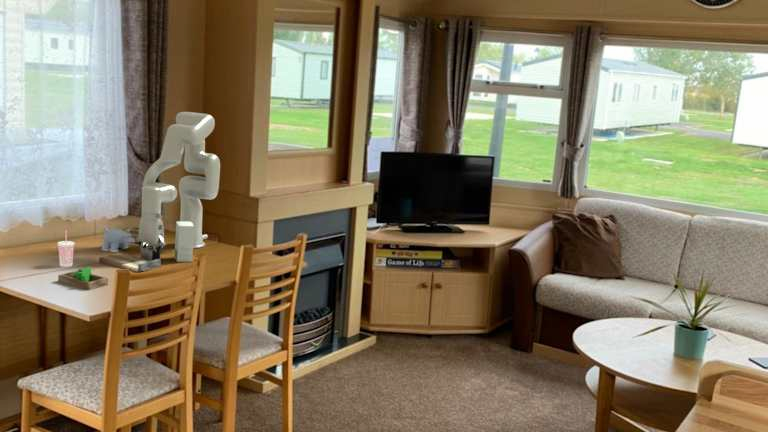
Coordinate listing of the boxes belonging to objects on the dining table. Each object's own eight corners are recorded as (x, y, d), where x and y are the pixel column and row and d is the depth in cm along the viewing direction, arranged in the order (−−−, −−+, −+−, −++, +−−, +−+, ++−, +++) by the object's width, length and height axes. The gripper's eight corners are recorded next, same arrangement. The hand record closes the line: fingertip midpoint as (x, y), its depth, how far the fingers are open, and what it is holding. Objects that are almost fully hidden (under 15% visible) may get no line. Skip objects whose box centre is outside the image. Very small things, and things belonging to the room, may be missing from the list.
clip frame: (130, 235, 353) (130, 228, 353) (157, 241, 347) (157, 234, 346) (116, 238, 346) (116, 231, 345) (144, 244, 339) (144, 237, 338)
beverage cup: (58, 267, 293) (58, 232, 290) (57, 263, 298) (56, 228, 296) (75, 266, 296) (75, 231, 293) (73, 262, 301) (73, 228, 299)
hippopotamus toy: (126, 254, 320) (126, 232, 318) (95, 249, 323) (95, 228, 322) (140, 249, 330) (141, 227, 329) (110, 244, 334) (110, 223, 332)
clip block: (150, 257, 317) (150, 243, 316) (160, 260, 315) (160, 245, 314) (140, 260, 312) (140, 246, 311) (150, 262, 310) (151, 248, 309)
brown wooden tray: (76, 276, 283) (76, 270, 283) (107, 284, 277) (108, 278, 276) (58, 281, 275) (58, 275, 275) (89, 289, 269) (89, 283, 269)
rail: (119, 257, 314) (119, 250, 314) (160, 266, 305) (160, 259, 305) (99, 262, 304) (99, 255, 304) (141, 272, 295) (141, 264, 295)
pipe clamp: (80, 278, 281) (80, 266, 280) (91, 278, 282) (91, 266, 281) (73, 287, 270) (73, 275, 269) (84, 287, 271) (84, 275, 270)
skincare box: (174, 257, 321) (175, 221, 318) (190, 256, 324) (191, 221, 321) (177, 262, 314) (178, 225, 311) (193, 261, 316) (194, 225, 314)
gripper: (174, 218, 310) (172, 261, 313) (141, 211, 317) (141, 254, 320) (161, 220, 303) (160, 264, 307) (128, 214, 310) (127, 257, 314)
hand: (150, 258), depth 314 cm, fingers closed on clip block, 5 cm apart
